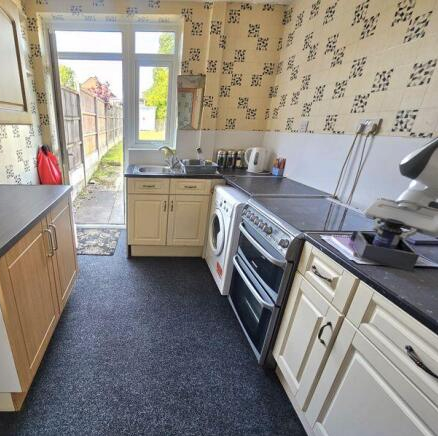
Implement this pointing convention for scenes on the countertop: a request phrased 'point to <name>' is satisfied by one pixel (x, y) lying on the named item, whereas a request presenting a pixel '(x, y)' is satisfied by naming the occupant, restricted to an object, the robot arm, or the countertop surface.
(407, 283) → the countertop surface
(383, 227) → the pill bottle
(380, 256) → the dark grey square box
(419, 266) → the countertop surface
